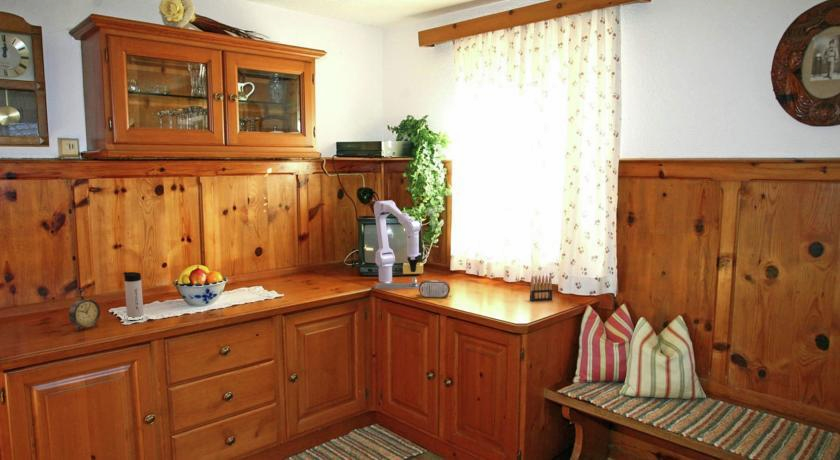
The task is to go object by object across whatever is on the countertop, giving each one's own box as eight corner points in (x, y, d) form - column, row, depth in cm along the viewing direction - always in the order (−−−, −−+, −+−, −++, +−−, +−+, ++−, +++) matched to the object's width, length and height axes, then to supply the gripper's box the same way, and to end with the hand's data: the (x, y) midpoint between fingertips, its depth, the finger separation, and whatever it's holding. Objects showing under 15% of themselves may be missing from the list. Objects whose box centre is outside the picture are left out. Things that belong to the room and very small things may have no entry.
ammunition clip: (550, 299, 278) (551, 274, 276) (552, 300, 276) (553, 275, 274) (529, 300, 276) (529, 275, 274) (530, 301, 274) (531, 276, 272)
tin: (450, 296, 283) (450, 279, 282) (449, 298, 280) (449, 281, 279) (419, 296, 285) (418, 279, 284) (418, 297, 282) (418, 280, 281)
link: (403, 270, 307) (403, 263, 307) (423, 270, 307) (422, 262, 306) (403, 273, 297) (402, 265, 297) (422, 273, 297) (422, 265, 296)
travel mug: (130, 317, 250) (126, 271, 247) (146, 316, 250) (143, 270, 248) (123, 321, 243) (120, 274, 241) (140, 320, 244) (137, 273, 241)
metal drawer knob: (410, 285, 305) (410, 276, 304) (418, 285, 305) (418, 276, 304) (410, 286, 301) (410, 278, 300) (418, 286, 301) (418, 278, 300)
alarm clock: (76, 333, 227) (73, 292, 225) (67, 331, 229) (64, 291, 227) (102, 326, 237) (99, 286, 235) (93, 324, 239) (90, 285, 237)
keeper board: (376, 285, 310) (376, 283, 310) (426, 285, 309) (426, 283, 309) (374, 290, 297) (374, 288, 297) (426, 290, 296) (426, 288, 296)
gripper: (420, 247, 289) (420, 274, 290) (421, 242, 303) (421, 268, 305) (406, 247, 289) (406, 274, 290) (407, 242, 303) (407, 268, 305)
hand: (413, 271), depth 297 cm, fingers closed on link
